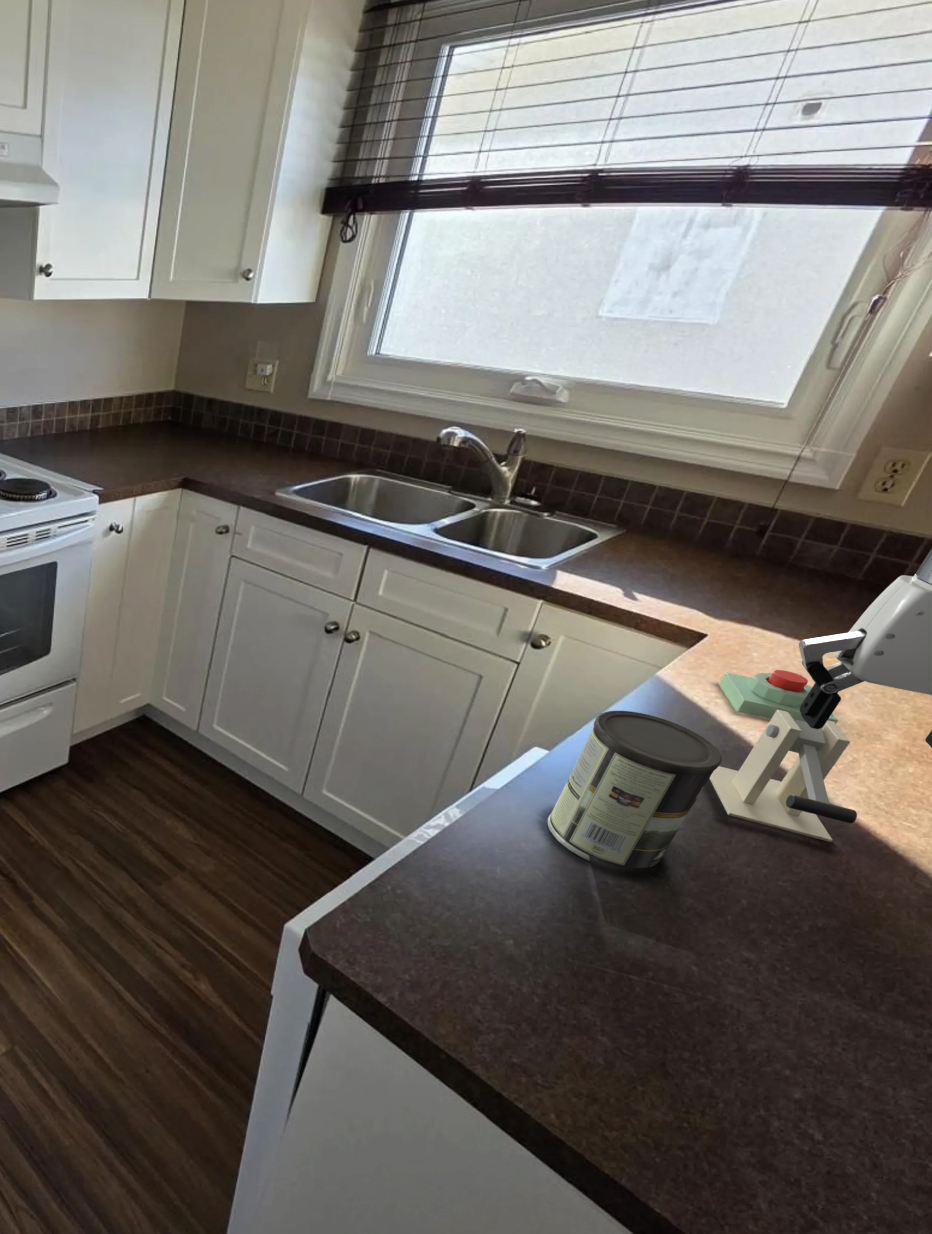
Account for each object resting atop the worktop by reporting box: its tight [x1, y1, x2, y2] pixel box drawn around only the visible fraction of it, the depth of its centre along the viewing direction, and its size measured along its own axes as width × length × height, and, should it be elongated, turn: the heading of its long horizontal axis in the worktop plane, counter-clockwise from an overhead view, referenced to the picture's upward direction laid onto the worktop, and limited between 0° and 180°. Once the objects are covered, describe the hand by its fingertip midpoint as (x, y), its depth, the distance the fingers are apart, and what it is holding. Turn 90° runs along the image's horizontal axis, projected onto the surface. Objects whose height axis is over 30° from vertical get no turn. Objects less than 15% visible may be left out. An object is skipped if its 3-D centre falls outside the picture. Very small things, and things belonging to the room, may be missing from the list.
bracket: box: [709, 710, 851, 843], centre depth 89 cm, size 11×9×12 cm
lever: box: [786, 720, 858, 824], centre depth 85 cm, size 12×5×2 cm, turn 151°
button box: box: [718, 672, 839, 725], centre depth 111 cm, size 10×9×4 cm
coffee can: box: [547, 710, 723, 869], centre depth 83 cm, size 10×10×14 cm
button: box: [768, 669, 809, 692], centre depth 110 cm, size 4×4×2 cm
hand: (871, 735), depth 77 cm, fingers open, 9 cm apart
